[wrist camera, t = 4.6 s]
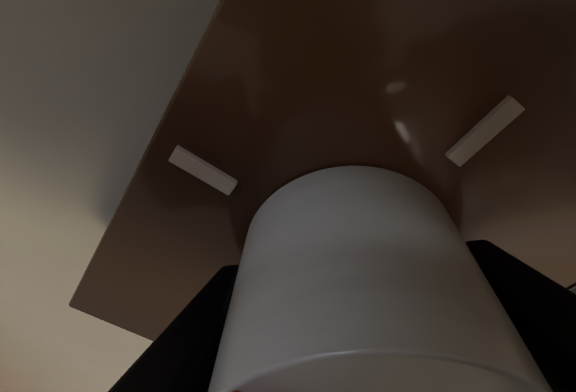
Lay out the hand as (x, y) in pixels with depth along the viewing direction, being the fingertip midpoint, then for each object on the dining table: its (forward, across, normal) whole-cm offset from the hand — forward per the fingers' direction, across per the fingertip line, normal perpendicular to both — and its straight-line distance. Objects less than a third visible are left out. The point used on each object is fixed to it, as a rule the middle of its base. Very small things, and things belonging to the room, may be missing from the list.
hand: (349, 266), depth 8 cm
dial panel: (+4, 0, 0) cm, 4 cm away
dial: (0, 0, 0) cm, 0 cm away
